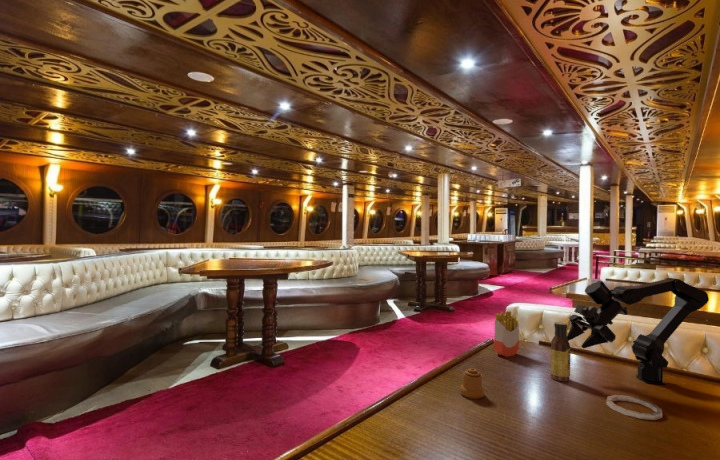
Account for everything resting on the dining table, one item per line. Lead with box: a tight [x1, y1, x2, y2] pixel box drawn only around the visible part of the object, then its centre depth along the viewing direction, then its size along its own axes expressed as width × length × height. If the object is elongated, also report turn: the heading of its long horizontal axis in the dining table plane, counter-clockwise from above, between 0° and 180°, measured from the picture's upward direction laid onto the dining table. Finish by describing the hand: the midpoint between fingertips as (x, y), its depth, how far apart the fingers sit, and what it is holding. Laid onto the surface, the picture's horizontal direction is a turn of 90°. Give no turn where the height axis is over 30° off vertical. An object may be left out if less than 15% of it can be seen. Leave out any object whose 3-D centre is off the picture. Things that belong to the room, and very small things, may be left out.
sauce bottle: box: [550, 321, 571, 382], centre depth 137 cm, size 6×6×20 cm
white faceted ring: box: [606, 394, 663, 421], centre depth 115 cm, size 13×13×1 cm
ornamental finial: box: [459, 367, 485, 400], centre depth 121 cm, size 8×8×8 cm
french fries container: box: [493, 310, 520, 358], centre depth 164 cm, size 5×11×18 cm, turn 122°
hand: (574, 343), depth 138 cm, fingers open, 9 cm apart
